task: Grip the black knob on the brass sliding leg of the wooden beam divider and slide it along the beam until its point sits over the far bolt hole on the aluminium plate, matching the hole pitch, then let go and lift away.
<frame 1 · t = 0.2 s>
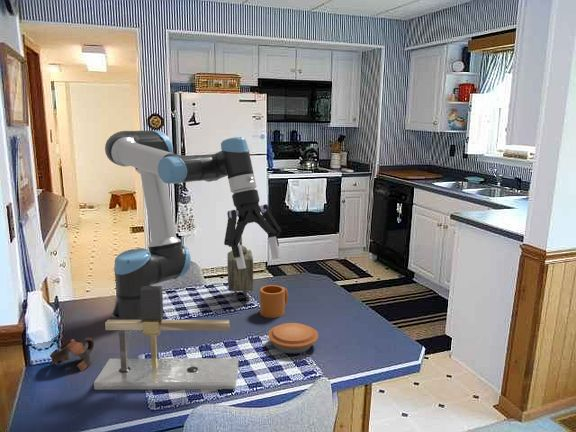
hand: (259, 263, 133), 28 cm above the table, tool tilted 20°, fingers open, 13 cm apart
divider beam: (169, 345, 123), on the hole plate, point 9 cm above the table
broken clay pot: (75, 364, 131), on the table
mug: (275, 312, 168), on the table
sliding leg: (153, 328, 122), point 14 cm above the table, slide at 8.0 cm
hole plate: (170, 376, 125), on the table
tabletop clock: (239, 296, 183), on the table
pie: (292, 345, 144), on the table
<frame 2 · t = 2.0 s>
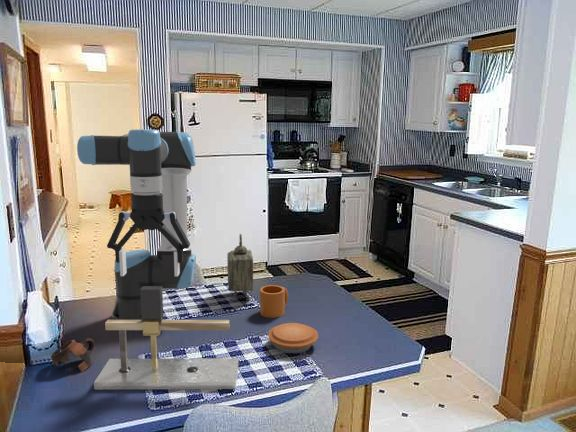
hand: (150, 274, 119), 29 cm above the table, tool pointing down, fingers open, 13 cm apart
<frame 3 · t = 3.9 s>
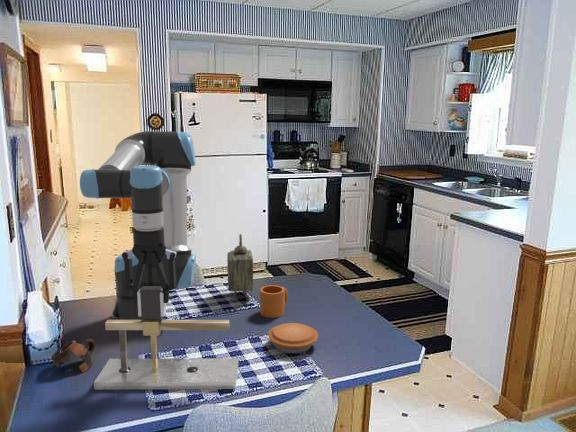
hand: (152, 314, 121), 18 cm above the table, tool pointing down, fingers closed on sliding leg, 5 cm apart
sliding leg: (153, 328, 122), point 14 cm above the table, slide at 8.0 cm, touching gripper
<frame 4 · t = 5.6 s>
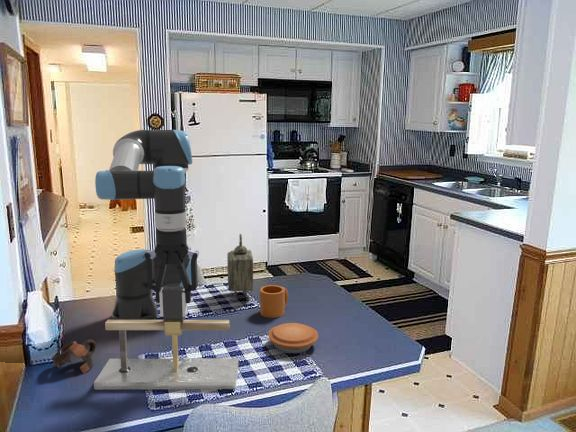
hand: (174, 314, 122), 18 cm above the table, tool pointing down, fingers closed on sliding leg, 5 cm apart
sliding leg: (174, 328, 122), point 14 cm above the table, slide at 13.6 cm, touching gripper
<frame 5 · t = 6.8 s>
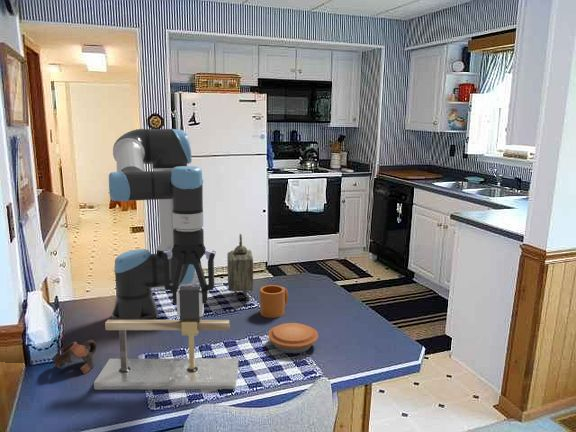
hand: (190, 314, 122), 18 cm above the table, tool pointing down, fingers closed on sliding leg, 5 cm apart
sliding leg: (191, 328, 123), point 14 cm above the table, slide at 17.9 cm, touching gripper
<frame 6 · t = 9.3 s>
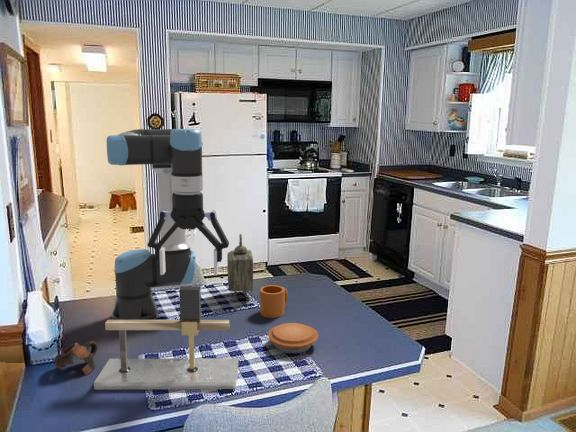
hand: (189, 273, 120), 29 cm above the table, tool pointing down, fingers open, 13 cm apart
sliding leg: (191, 328, 123), point 14 cm above the table, slide at 18.0 cm
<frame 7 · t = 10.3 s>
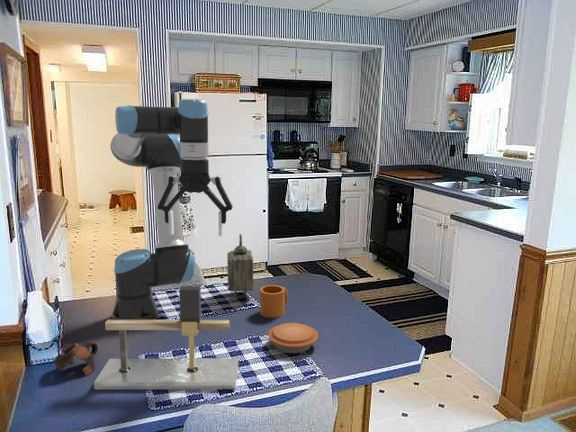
hand: (196, 234, 130), 37 cm above the table, tool pointing down, fingers open, 13 cm apart
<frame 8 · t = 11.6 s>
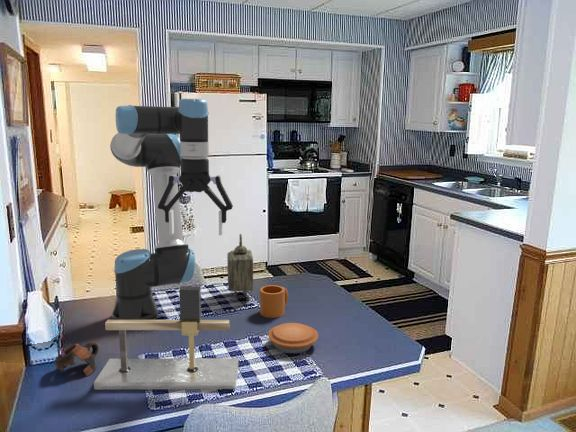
hand: (196, 234, 130), 37 cm above the table, tool pointing down, fingers open, 13 cm apart
at the end: sliding leg slide at 18.0 cm; the gripper is holding nothing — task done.
